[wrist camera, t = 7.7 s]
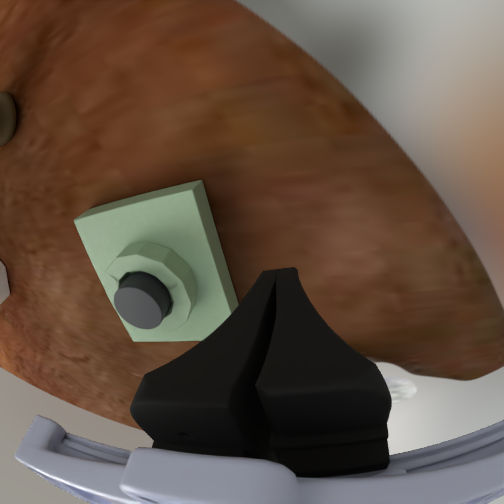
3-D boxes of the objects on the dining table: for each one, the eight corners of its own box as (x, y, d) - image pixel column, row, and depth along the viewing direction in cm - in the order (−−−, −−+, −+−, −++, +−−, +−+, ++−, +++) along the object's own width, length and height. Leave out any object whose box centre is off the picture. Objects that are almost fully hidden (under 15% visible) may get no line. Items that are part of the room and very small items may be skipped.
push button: (178, 312, 20) (170, 329, 19) (136, 314, 21) (127, 330, 20) (159, 268, 19) (149, 284, 17) (116, 274, 19) (104, 288, 18)
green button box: (244, 320, 25) (236, 355, 21) (142, 325, 27) (125, 355, 23) (202, 179, 19) (182, 199, 16) (88, 209, 21) (59, 230, 18)
